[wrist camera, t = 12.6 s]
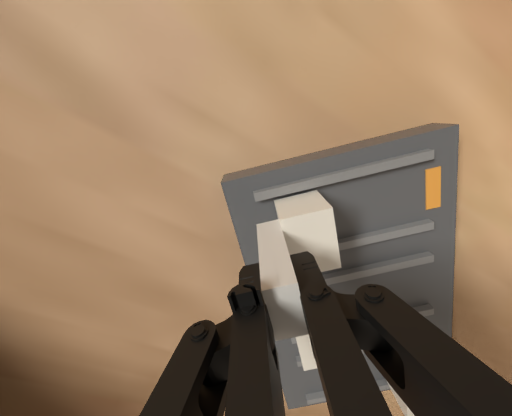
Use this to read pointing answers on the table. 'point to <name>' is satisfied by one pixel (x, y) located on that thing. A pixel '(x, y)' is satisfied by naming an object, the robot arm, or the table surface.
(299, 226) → the switch
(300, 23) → the table surface
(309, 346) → the switch middle
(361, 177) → the switch panel
